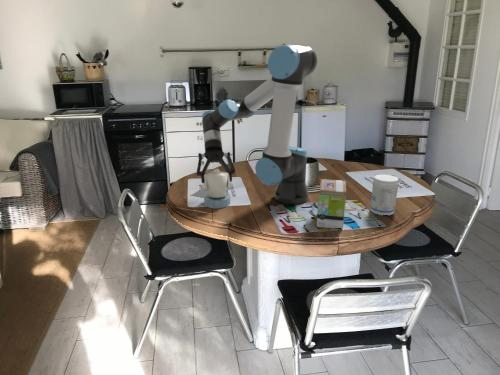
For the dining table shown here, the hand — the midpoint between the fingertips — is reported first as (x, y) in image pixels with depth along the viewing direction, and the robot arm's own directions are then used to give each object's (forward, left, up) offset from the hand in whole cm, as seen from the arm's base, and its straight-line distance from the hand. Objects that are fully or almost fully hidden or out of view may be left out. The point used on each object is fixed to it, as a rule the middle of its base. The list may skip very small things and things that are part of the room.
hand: (217, 189), depth 171 cm
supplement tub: (-63, -24, -8) cm, 68 cm away
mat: (+12, -13, -8) cm, 19 cm away
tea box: (-46, -6, -8) cm, 47 cm away
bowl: (+2, -3, -8) cm, 9 cm away
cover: (+2, -3, -3) cm, 5 cm away
